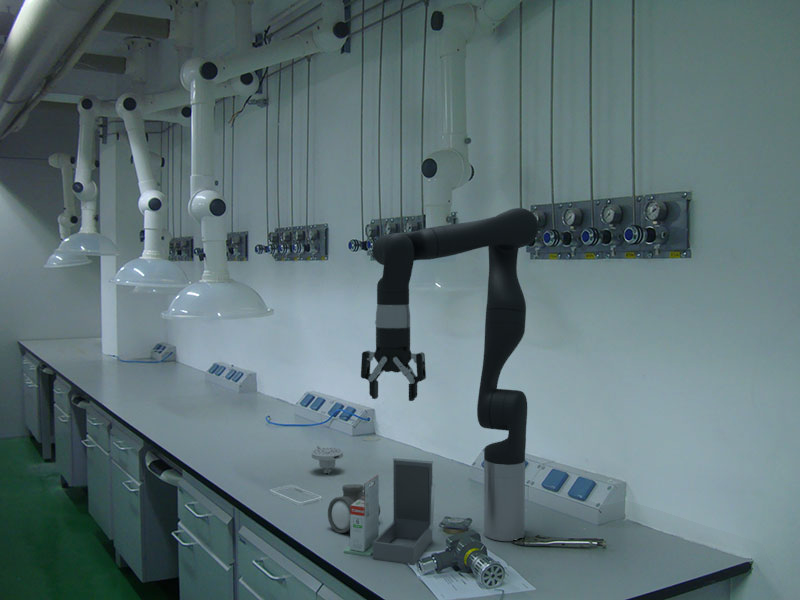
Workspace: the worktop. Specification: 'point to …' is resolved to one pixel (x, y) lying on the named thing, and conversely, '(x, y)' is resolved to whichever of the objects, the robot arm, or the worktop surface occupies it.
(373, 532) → the ink box
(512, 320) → the robot arm
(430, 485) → the case
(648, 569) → the worktop surface
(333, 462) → the showerhead
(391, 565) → the worktop surface
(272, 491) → the phone case
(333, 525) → the pipe fitting
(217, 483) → the worktop surface
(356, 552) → the mat
